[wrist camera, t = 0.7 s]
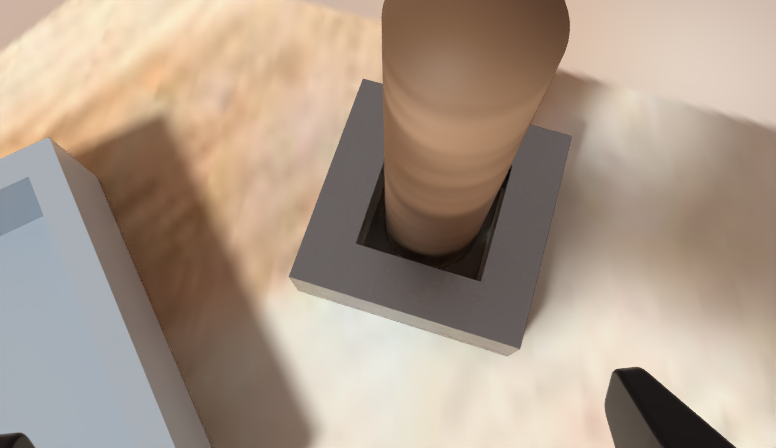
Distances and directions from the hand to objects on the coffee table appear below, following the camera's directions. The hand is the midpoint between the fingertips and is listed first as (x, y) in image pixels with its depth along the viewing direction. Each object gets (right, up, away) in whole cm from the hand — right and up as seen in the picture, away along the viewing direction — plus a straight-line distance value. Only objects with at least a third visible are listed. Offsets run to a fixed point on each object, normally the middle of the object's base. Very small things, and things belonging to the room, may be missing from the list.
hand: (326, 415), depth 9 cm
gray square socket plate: (+3, +3, +17) cm, 17 cm away
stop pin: (+3, +3, +17) cm, 17 cm away
